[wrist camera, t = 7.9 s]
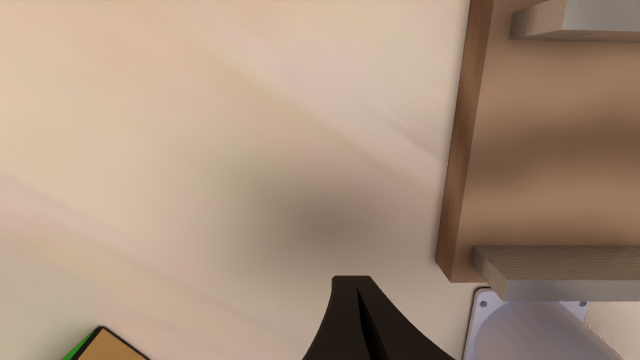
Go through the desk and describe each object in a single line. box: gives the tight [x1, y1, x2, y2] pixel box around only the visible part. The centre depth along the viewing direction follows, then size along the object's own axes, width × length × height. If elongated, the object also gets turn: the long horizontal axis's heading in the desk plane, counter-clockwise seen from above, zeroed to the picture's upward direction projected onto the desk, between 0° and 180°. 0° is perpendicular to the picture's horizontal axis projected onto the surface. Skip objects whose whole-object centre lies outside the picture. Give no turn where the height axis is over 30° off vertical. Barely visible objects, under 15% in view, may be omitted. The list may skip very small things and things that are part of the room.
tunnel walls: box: [470, 0, 640, 302], centre depth 16 cm, size 13×11×4 cm
